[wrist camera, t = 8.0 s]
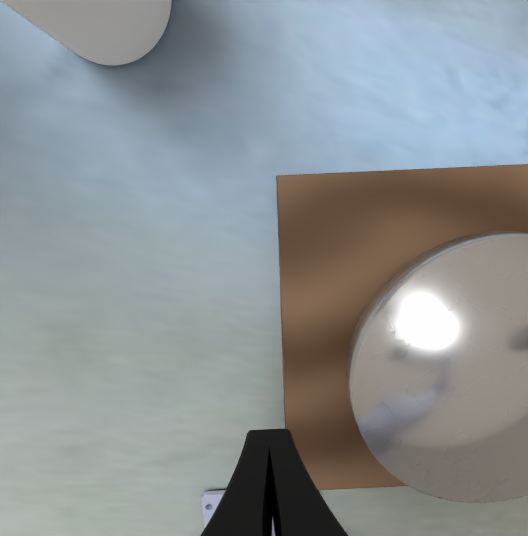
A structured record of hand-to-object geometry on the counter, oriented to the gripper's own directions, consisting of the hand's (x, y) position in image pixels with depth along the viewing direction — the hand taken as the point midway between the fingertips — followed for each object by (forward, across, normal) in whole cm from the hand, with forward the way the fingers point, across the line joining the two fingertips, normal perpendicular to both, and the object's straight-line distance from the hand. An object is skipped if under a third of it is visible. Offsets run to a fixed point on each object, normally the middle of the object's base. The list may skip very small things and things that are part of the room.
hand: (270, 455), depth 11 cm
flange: (+6, -12, 0) cm, 14 cm away
